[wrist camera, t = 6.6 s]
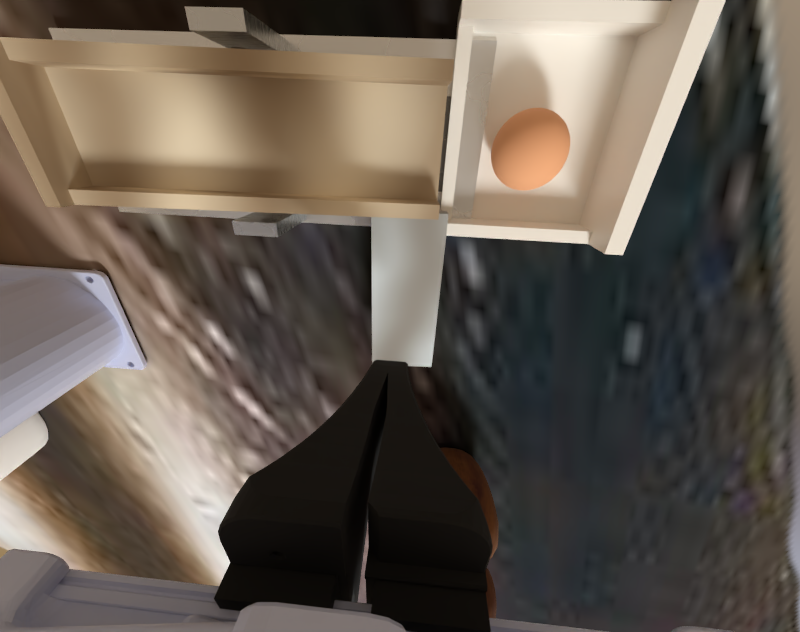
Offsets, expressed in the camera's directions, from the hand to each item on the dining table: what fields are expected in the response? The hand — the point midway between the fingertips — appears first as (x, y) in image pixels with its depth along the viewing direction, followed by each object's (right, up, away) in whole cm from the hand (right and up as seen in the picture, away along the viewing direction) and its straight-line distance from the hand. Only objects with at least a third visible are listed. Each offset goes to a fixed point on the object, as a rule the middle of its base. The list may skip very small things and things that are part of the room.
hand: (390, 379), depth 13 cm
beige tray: (-6, +7, +3) cm, 9 cm away
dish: (+7, +11, +2) cm, 13 cm away
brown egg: (+6, +10, +1) cm, 12 cm away
